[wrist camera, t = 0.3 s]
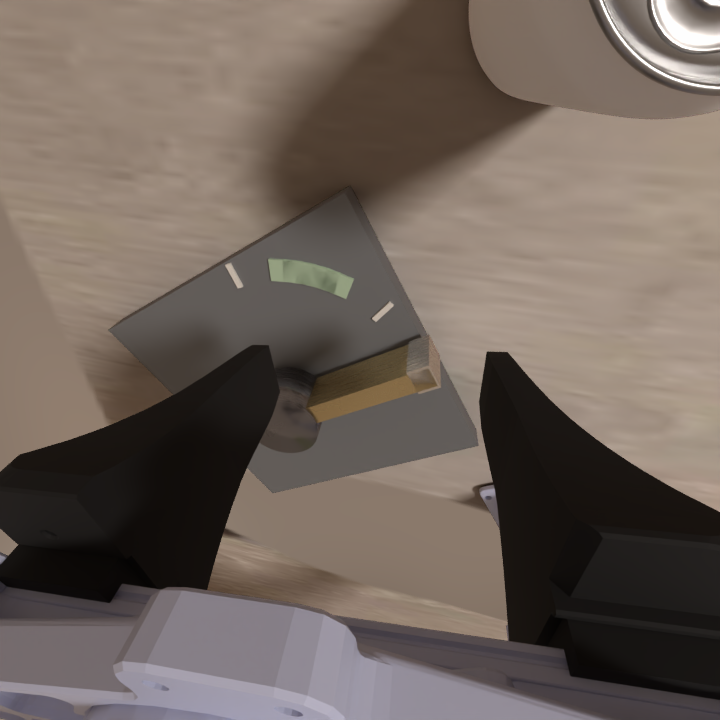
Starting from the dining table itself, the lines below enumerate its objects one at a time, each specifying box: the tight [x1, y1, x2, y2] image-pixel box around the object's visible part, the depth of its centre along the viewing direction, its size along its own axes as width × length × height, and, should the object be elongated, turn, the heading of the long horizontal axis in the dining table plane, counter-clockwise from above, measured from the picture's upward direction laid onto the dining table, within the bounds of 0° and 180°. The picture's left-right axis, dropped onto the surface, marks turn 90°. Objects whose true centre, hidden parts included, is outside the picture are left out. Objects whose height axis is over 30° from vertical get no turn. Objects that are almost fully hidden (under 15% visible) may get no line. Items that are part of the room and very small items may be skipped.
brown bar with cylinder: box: [259, 335, 441, 453], centre depth 22 cm, size 4×12×3 cm, turn 119°
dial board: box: [109, 186, 478, 493], centre depth 25 cm, size 18×18×2 cm
